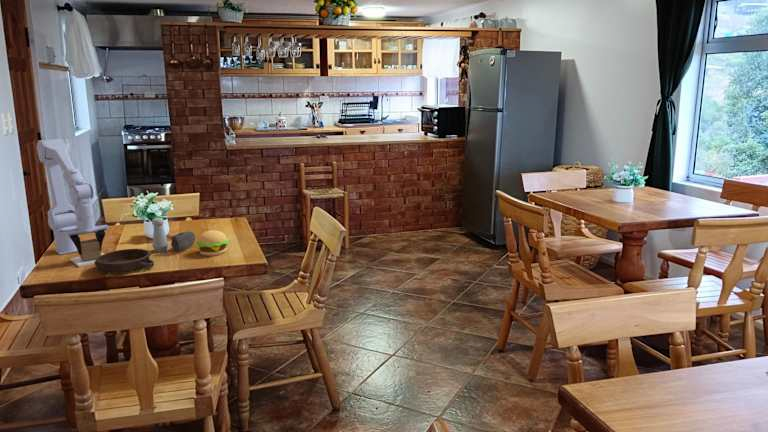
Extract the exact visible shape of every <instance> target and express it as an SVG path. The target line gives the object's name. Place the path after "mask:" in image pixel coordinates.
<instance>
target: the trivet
mask: <svg viewBox="0 0 768 432" xmlns="http://www.w3.org/2000/svg"><path fill="white" fill-rule="evenodd" d="M103 254H105V253H104V252H101V255H103ZM96 259H97V258H96ZM96 259H91V260H86V261H83V260H82V258H81V257H80V256H76V257H72V258H70V261H71V262H72V263H74V264H75V265H76V266H77V267H78V268H82V267H87V266H92V265H95V263H94V262H95V261H96Z"/></svg>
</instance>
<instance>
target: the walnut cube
mask: <svg viewBox="0 0 768 432" xmlns="http://www.w3.org/2000/svg"><path fill="white" fill-rule="evenodd" d="M80 245H81V251H82V255H79V257H81V258H82V260H83V261H86V260H91V259H96V258H98V257H99V256H101V253H102V250H101V251H100V245H99V242H98V241H97V239H96V238H91V239H86V240H80Z"/></svg>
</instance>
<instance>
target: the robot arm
mask: <svg viewBox="0 0 768 432" xmlns="http://www.w3.org/2000/svg"><path fill="white" fill-rule="evenodd" d="M36 151H37V156H38V160H39V162H40V163H41V164H42V163H43V164H44V167H45V170H46V174H47V178H48V184H49V187H50V188H49V189H50V193H51V198H52V201H53V202H52V203H53V205H52V207H50V208H49V209H48V210H47V222H48V223H47V224H48V226H49V228H50V229H51V230H52V231H54V239H55V245H56V248H53V250H54V251H55V252H56V253H57V254H58V255H65V254H71V253H78V255H79V256H80V255H82V251H81V245H80V241H81V238H80V235H81V236H82V235H87V234H93V233H94V234H95V239H96V240H97V241H98V242H99V245H100V251H101V252H102V246H103V242H104V239H105V236H106V232H107V231H109V230H110V229H109V228H110V227H109V225H108V224H103V225H102V224H101V225H95V217H94V210H93V209H94V208H93V202H92V199H93V198H94V189H93V186H92V184H91V183H89V181H86V180H85V179H84V176H83V175H82V174H81V172H80V170H79V169H77V168H75V166H74V165H73V162H72V160H71V158H70V151H71V146H70V142H69V141H68V140H67V138H65V137H62V138H55V139H42V140H41V139H40V140H38V141H37V143H36ZM62 171H63V173H62ZM64 181H65V183H66V184H67V187H68V188H69V196H70V199H71V201H72V204H70V203H69V201H68V196H67V192H66V189H65V183H64Z"/></svg>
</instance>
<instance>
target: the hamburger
mask: <svg viewBox="0 0 768 432" xmlns="http://www.w3.org/2000/svg"><path fill="white" fill-rule="evenodd" d="M229 241H230V240H229V238H227V236H226V234H225V233H224V232H222V231H220V230H216V229H211V230H207V231H204V232H202V234H200V235H199V237H198V240H196V245H197V250H198V251H199V253H200V254H201V255H203V256H205V257H207V256H208V257H210V256H211V257H213V256H215V257H216V256H220V255H223V254H225V253H226V252H227V250H228V247H227V246H228V245H229V243H228V242H229Z"/></svg>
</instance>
